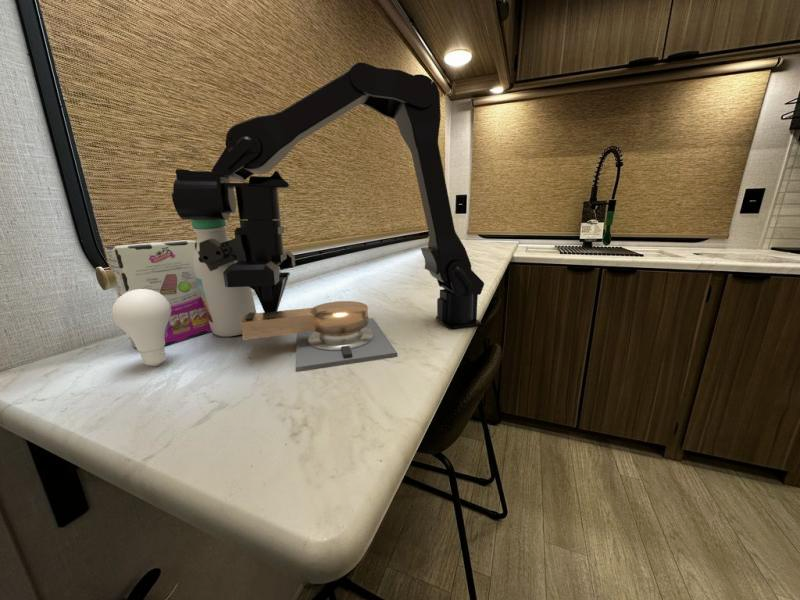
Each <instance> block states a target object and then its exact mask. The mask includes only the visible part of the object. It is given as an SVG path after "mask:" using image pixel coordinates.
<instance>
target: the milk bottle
mask: <svg viewBox="0 0 800 600" xmlns="http://www.w3.org/2000/svg"><path fill="white" fill-rule="evenodd" d="M190 223H191V226H192V227H193V232H194V233H195V234H196V241H197V248H196V253H195V257H194V272H195V276H196V280H197V284H198V288H199V291H200V294H201V298H202V301H203V305H204V308H205V311H206V315H207V318H208V321H209V324H210V327H211V330H212V331H211V332H212V333H213V334H214V335H215V336H218V337H224V338H225V337H226V338H229V337H235V336H236V337H237V336H240V335H243V334H242V327H241V321H242V319H243V318H244V316H245V314H249V313H252V312H255V313H257V308H256V304H255V300H254V296H253V291H252V290H253V289H252V288H250V287H225V282H224V276H223V272H224V271H225V270H226V269H227V268H228V267H229V266H230V265H232V264H234V263H237V260H235V261H233V262H230V263H227V264H225V265H222V266H219V267H218V269H215V270H213V271H210V270H209V268H208V267H207V265H206V264H205V263H201V262H200V261H199V260H198V259H199V254H198V251H199V243H200V242H203V241H206V240H208V239H215V240H217V241H218V242H219V243H222V242H226V241H229V240H231V239H230V237H229V235H228V232H227V228H228V227H227V224H226V220H190Z"/></svg>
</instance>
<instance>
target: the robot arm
mask: <svg viewBox="0 0 800 600" xmlns="http://www.w3.org/2000/svg"><path fill="white" fill-rule="evenodd" d="M359 105H363V106H365V107H369V108H370V109H371V110H373V111H375V112H377V113H378V114H380V115H381V116H383V117H385V118H389V119H392V120H394V121H395V122H396V125H397V128H398V130H399V133H400V135H401V137H402V139H403V141H404V142H405V144H406V146H407V147H408V149H409V151H410V153H411V157H412V163H413V167H414V172H415V176H416V181H417V185H418V190H419V194H420V200H421V205H422V208H423V209H422V210H423V213H424V218H425V222H426V226H427V232H428V245H427V247H426V246H425V247H421V248H420V250H421V254H422V256H423V258H424V269H425V270H427V271H429V273H430V275H431V276H432V277H433V278H435V279H436V282H437V284H438V286H439V287H441V288H443V289H439V297H437V300H436V301H437V302H436V303H437V304H436V315H435V319H436V320H437V321H438V322H440V323H441V324H442V325H444V326H445V327H446V328H447V329H450V330H452V329H453V330H454V329H460V328H468V327H475V326H481V325H482V321H481V320H478V298H479V296H480V295H481V294H482V292H483V289H484V286H485V282H484V281H483V280H482V279H481V278H480V277H479V276H478V275H477V274H476V273H475V272H474V271H473V270H472V263H471V261H470V258H469V255H468V252H467V250H466V247H465V245H464V244H463V242H462V241H461V239H460V237H459V235H458V234H457V232H456V229H455V225H454V218H453V214H452V213H453V212H452V208H451V204H450V203H451V202H450V198H449V193H448V188H447V182H446V178H445V172H444V167H443V162H442V156H441V152H440V147H439V135H440V134H439V133H440V128H441V127H440V126H441V121H442V120H441V117H442V116H441V115H442V113H441V93H440V89H439V87H438V84H437V82H436V81H435V80H433V79H431V78H430V77H429V76H427V75H425V74H419V73H418V74H411V73H408V72H406V71H403V70H400V69H394V68H393V69H392V68H391V69H390V68H383V67H377V66H374V65H371V64H370V63H366V62H357V63H355V64H353V65H351V67H350V68H349V69H348V70H347V71H345V72H343V73H342V74H340V75H339V76H337V77H336V78H334V79H332V80H331V81H329V82H327V83H326V84H324V85H322V86H321V87H319V88H317V89H316V90H314V91H312V92H311V93H308V95H306V96H304V97H302V98H301V99H299V100H298V101H296V102H295V103H293V104H291V105H289V106H288V107H287V108H284V109H283V110H281V111H278V112H276V113H270V114H266V115H265V114H264V115H260V116H255V117H253V118H249V119H247V120H244V121H242V122H239V123H236V124H234V125H233V126H231V127H230V128H229V129H228V131H227V132H226V135H225V136H226V137H225V148H224V150H223V151H222V153H221V155H220V156H219V158H218V160H217V161H216V162H215V164H214V166H213V167H212V168H211V171H206V170H205V171H201V170H200V171H199V170H198V171H196V170H190V169H184V168H183V169H182V168H176V169H175V176H176V177H175V179H174V181H173V186H172V190H173V191H172V193H171V197H172V203H173V206H174V208H175V211H176V214H177V215H178V216H179V218H180V219H182V220H183V221H191V220H225V221H228V220H229V219H230V215H231V214H235V213H236V211H238V219H239V226H238V227H236V228H235V229H234V232H233V233H234V238H232V239H230V240H229V241H226V242H222V243H219V242H218V241H217V240H215V239H208V240H206V241H203V242H200V243H199V251H198V254H199V259H198V260H199V261H200V262H201V263H205V264H206V265H207V267H208V268H209V270H210V271H213V270H215V269H218V267H219V266H222V265H225V264H227V263H230V262H233V261H235V260H237V263H234V264H232V265H230V266H229V267H228V268H227V269H226V270H225V271H224V272H223V276H224V282H225V287H250V288H251V290H253V291H254V292H255V294H256V297H257V300H258V301H259V303H260V305H261V307H262V310H263V313H264V312H275V311H279V308H280V304H281V302H282V298H283V295H284V292H285V290H286V286H287V283H288V280H289V277H290V274H291V273H290V272H287V271H286V272H281V271H282V270H281V268H280V267H284V266H285V267H287V266H288V267H289V268H290V269H291V268H295V266H296V258H295V254H293V253H292V252H291V251H290V250H284V244H283V234H285V227H284V226H282V222H281V221H282V220H281V211H280V200H279V191H278V190H291V189H292V185H291V184H290V183H289V182H288V181H286V180H285V179H284V178H283V176H282V174H281V173H280V172H279V171H277V170H275V171H274V172H273V173H272V174H271V176H259V175H265V174H267V173H269V172H271V171H272V170H273V169H275V167H277V165H279V164H280V163H281V162H282V161H283V160H284V159H285V158H286V157H287V155H289V153H290V152H291V151H292V149H294V147H295V146H296V145H297V144H298V143H300V142H301V141H303V140H305V139H306V138H307V137H309V136H312V134H314V133H315V132H317V131H319V130H320V129H322V128H324V127H325V126H327V125H328V124H330V123H331V122H334V121H335V120H336V119H338V118H340V117H342V116H343V115H344V114H346V113H348V112H349V111H351V110H353V109H354V108H356V107H357V106H359ZM255 175H257V176H255ZM247 179H249V180H248V182H245V181H246V180H247Z"/></svg>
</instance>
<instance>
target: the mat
mask: <svg viewBox="0 0 800 600" xmlns="http://www.w3.org/2000/svg"><path fill="white" fill-rule="evenodd" d="M366 328H369V329H370V330H372V332H373V339H372V340H371V341H370V342H369V343H368V344H366V345H364V346H361V347H358V348H355V349H350V346H342V347H341V351H324V350H319V349H316V348H313V347H312V346H310V344H309V342H308V338H309V336H310V335H311V334H312V333H314V332H316V331H312V332H304V333H296V347H295V348H296V349H295V350H296V352H295V372H301V371H307V370H314V369H321V368H327V367H335V366H342V365H348V364H355V363H362V362H370V361H375V360H376V361H377V360H382V359H388V358H389V359H390V358H395V357H398V352H397V350H396V348H395V347H394V346H393V345H392V342H390V340H389V339H388V337H387V336H386V335H385V333H384V332H383V330H382V329H381V327H380V326H379V325H378V323H377V322H376V321H375V319H374V318H373V317H368V325H367V326H366Z"/></svg>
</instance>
